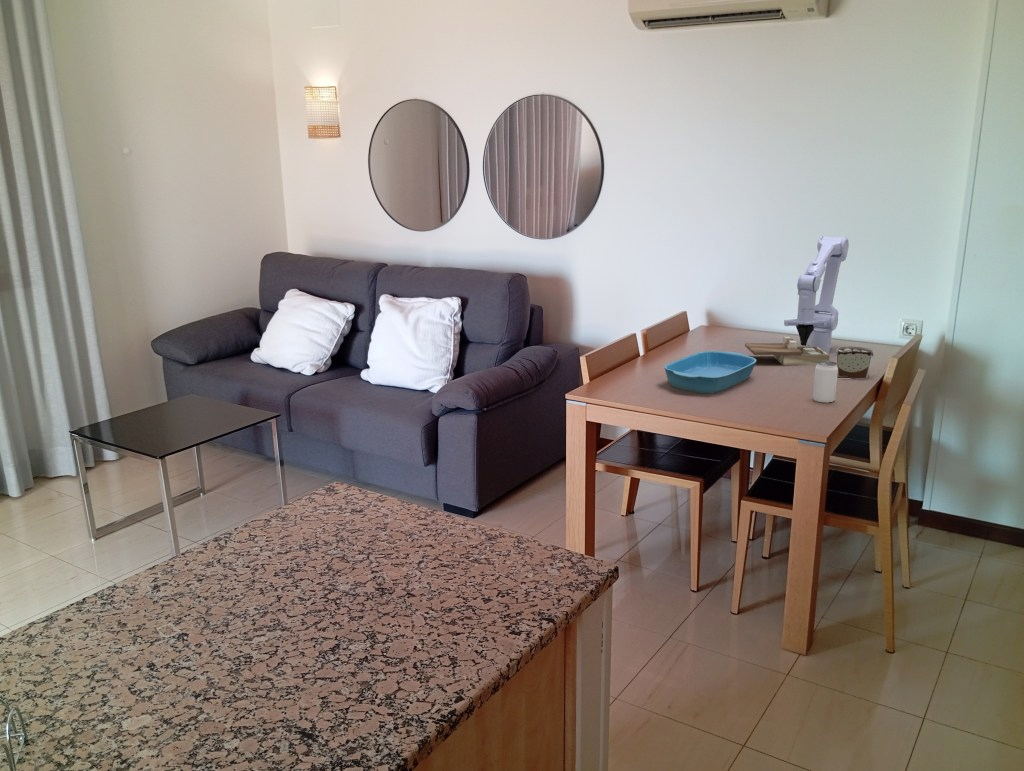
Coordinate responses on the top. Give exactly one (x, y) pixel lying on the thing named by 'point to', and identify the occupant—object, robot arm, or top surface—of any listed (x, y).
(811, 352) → the sage cube
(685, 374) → the casserole dish
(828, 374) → the can
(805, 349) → the cream cube
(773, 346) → the lid
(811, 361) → the beige open tray
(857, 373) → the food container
